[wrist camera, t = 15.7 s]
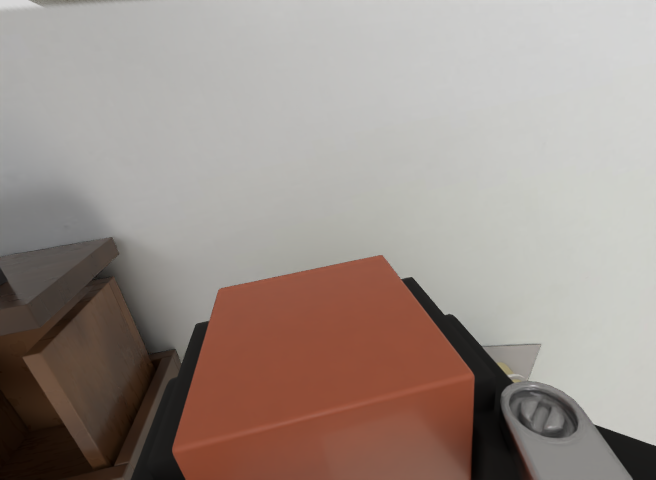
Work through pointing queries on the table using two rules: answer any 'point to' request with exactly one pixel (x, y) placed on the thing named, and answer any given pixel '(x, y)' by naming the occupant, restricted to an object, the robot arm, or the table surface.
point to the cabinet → (139, 421)
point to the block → (326, 383)
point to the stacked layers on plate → (515, 360)
